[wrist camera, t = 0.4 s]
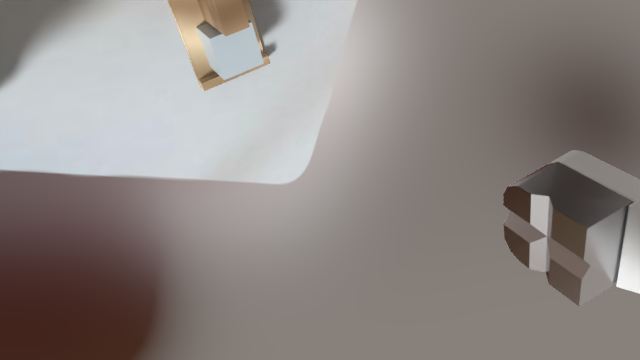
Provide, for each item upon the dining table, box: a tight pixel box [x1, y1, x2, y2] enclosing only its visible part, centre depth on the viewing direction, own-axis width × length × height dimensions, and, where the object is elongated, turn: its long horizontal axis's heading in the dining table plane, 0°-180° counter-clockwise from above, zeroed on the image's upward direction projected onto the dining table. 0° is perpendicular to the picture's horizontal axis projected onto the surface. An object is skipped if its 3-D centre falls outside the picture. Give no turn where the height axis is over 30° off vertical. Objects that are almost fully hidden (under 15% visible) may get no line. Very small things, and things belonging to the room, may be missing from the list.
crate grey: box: [196, 20, 264, 80], centre depth 51 cm, size 4×4×4 cm
